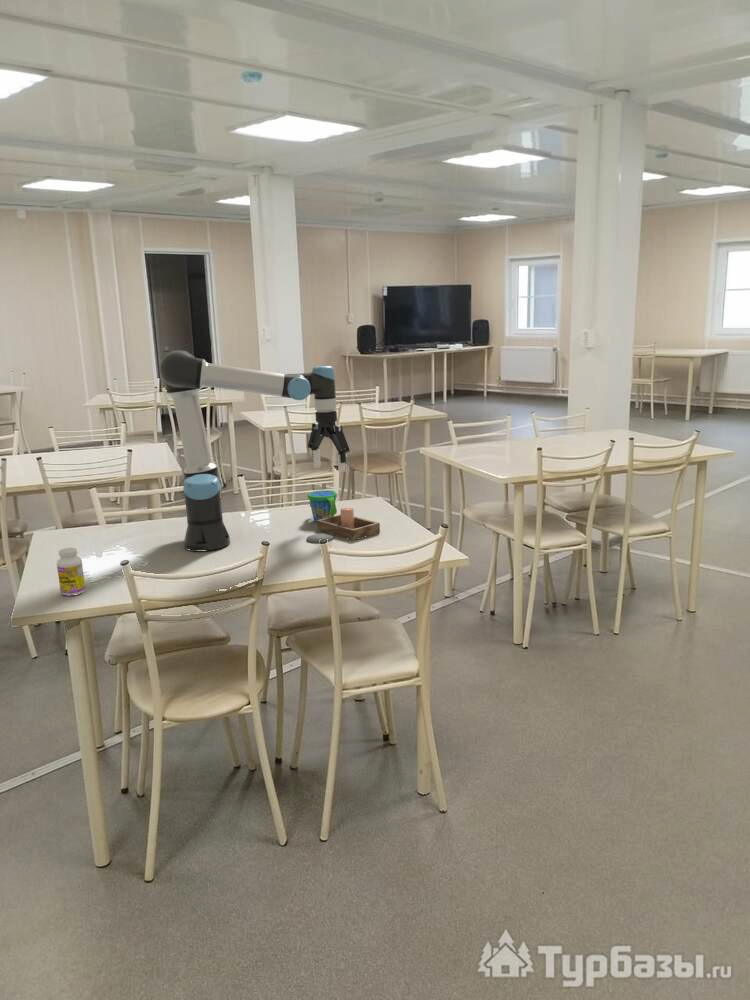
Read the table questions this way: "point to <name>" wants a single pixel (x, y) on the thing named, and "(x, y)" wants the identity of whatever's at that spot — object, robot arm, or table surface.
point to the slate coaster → (319, 537)
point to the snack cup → (322, 504)
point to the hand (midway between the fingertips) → (329, 469)
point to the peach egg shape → (347, 517)
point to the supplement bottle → (70, 572)
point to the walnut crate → (334, 528)
